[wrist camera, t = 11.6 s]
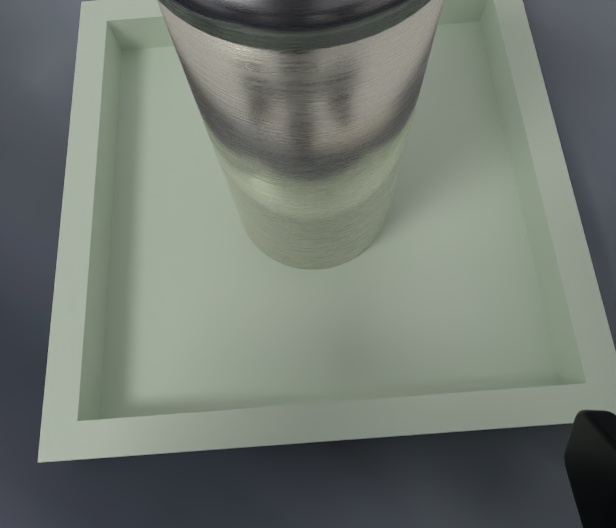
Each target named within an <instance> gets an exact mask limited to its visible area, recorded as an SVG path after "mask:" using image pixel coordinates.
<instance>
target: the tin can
mask: <svg viewBox="0 0 616 528" xmlns="http://www.w3.org/2000/svg"><path fill="white" fill-rule="evenodd" d="M157 2H158V5H159V7H160V10H161V13H162V15H163V18H164V20H165V23H166V26H167V28H168V31H169V33H170V36H171V39H172V41H173V44H174V47H175V49H176V52H177V54H178V57H179V60H180V62H181V65H182V67H183V70H184V73H185V75H186V78H187V81H188V83H189V86H190V88H191V91H192V94H193V96H194V99H195V101H196V104H197V107H198V109H199V112H200V115H201V117H202V120H203V122H204V125H205V128H206V130H207V133H208V135H209V138H210V141H211V143H212V146H213V149H214V151H215V154H216V156H217V159H218V162H219V164H220V167H221V169H222V172H223V175H224V177H225V180H226V183H227V185H228V188H229V190H230V193H231V196H232V198H233V201H234V203H235V206H236V209H237V211H238V214H239V216H240V219H241V222H242V224H243V227H244V229H245V231H246V233H247V235H248V237H249V238H250V239H251V241H252V242H253V243H254V244H255V245H256V246H257V247H258V248H259V249H260V250H261V251H262V252H263V253H264V254H266V255H267V256H268V257H270V258H272V259H273V260H275V261H277V262H279V263H282V264H284V265H286V266H290V267H294V268H299V269H306V270H319V269H327V268H331V267H336V266H339V265H341V264H344V263H347V262H349V261H351V260H352V259H354V258H356V257H357V256H359V255H360V254H362V253H363V252H364V251H365V250H366V249H367V248H369V247H370V246H371V245H372V243H373V242H374V241H375V240H376V238H377V237H378V235H379V234H380V232H381V230H382V228H383V226H384V224H385V221H386V218H387V214H388V210H389V206H390V203H391V199H392V195H393V191H394V188H395V184H396V180H397V176H398V172H399V169H400V165H401V161H402V157H403V154H404V150H405V146H406V142H407V139H408V135H409V131H410V127H411V123H412V120H413V116H414V112H415V108H416V105H417V101H418V97H419V93H420V90H421V86H422V82H423V78H424V74H425V71H426V67H427V63H428V59H429V56H430V52H431V48H432V44H433V41H434V37H435V33H436V29H437V25H438V22H439V18H440V14H441V10H442V7H443V3H444V0H157Z"/></svg>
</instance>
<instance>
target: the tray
mask: <svg viewBox="0 0 616 528" xmlns="http://www.w3.org/2000/svg"><path fill="white" fill-rule="evenodd" d="M581 410H605V411H609V412H612V413H613V414H615V415H616V351H615V347H614V344H613V340H612V336H611V332H610V328H609V325H608V321H607V317H606V313H605V310H604V306H603V302H602V298H601V295H600V291H599V287H598V283H597V279H596V276H595V272H594V268H593V264H592V261H591V257H590V253H589V249H588V246H587V242H586V238H585V234H584V231H583V227H582V223H581V219H580V215H579V212H578V208H577V204H576V200H575V197H574V193H573V189H572V185H571V182H570V178H569V174H568V170H567V166H566V163H565V159H564V155H563V151H562V148H561V144H560V140H559V136H558V133H557V129H556V125H555V121H554V117H553V114H552V110H551V106H550V102H549V99H548V95H547V91H546V87H545V84H544V80H543V76H542V72H541V69H540V65H539V61H538V57H537V53H536V50H535V46H534V42H533V38H532V35H531V31H530V27H529V23H528V20H527V16H526V12H525V8H524V4H523V1H522V0H444V3H443V7H442V10H441V14H440V18H439V22H438V25H437V29H436V33H435V37H434V41H433V44H432V48H431V52H430V56H429V59H428V63H427V67H426V71H425V74H424V78H423V82H422V86H421V90H420V93H419V97H418V101H417V105H416V108H415V112H414V116H413V120H412V123H411V127H410V131H409V135H408V139H407V142H406V146H405V150H404V154H403V157H402V161H401V165H400V169H399V172H398V176H397V180H396V184H395V188H394V191H393V195H392V199H391V203H390V206H389V210H388V214H387V218H386V221H385V224H384V226H383V228H382V230H381V232H380V234H379V235H378V237H377V238H376V240H375V241H374V242H373V243H372V245H371V246H370V247H369V248H367V249H366V250H365V251H364V252H363V253H362V254H360V255H359V256H357V257H356V258H354V259H352V260H351V261H349V262H347V263H344V264H341V265H339V266H336V267H331V268H327V269H319V270H306V269H299V268H294V267H290V266H286V265H284V264H282V263H279V262H277V261H275V260H273V259H272V258H270V257H268V256H267V255H266V254H264V253H263V252H262V251H261V250H260V249H259V248H258V247H257V246H256V245H255V244H254V243H253V242H252V241H251V239H250V238H249V237H248V235H247V233H246V231H245V229H244V227H243V224H242V222H241V219H240V216H239V214H238V211H237V209H236V206H235V203H234V201H233V198H232V196H231V193H230V190H229V188H228V185H227V183H226V180H225V177H224V175H223V172H222V169H221V167H220V164H219V162H218V159H217V156H216V154H215V151H214V149H213V146H212V143H211V141H210V138H209V135H208V133H207V130H206V128H205V125H204V122H203V120H202V117H201V115H200V112H199V109H198V107H197V104H196V101H195V99H194V96H193V94H192V91H191V88H190V86H189V83H188V81H187V78H186V75H185V73H184V70H183V67H182V65H181V62H180V60H179V57H178V54H177V52H176V49H175V47H174V44H173V41H172V39H171V36H170V33H169V31H168V28H167V26H166V23H165V20H164V18H163V15H162V13H161V10H160V7H159V5H158V2H157V0H97V1H85V2H82V3H81V13H80V24H79V34H78V45H77V55H76V66H75V76H74V87H73V97H72V108H71V118H70V129H69V139H68V149H67V160H66V170H65V181H64V191H63V202H62V212H61V223H60V233H59V244H58V254H57V265H56V275H55V286H54V296H53V307H52V317H51V328H50V338H49V349H48V359H47V370H46V380H45V391H44V401H43V411H42V422H41V432H40V443H39V453H38V462H54V461H69V460H83V459H97V458H110V457H124V456H137V455H151V454H164V453H178V452H191V451H205V450H219V449H232V448H246V447H259V446H273V445H286V444H300V443H313V442H327V441H340V440H354V439H367V438H381V437H394V436H408V435H421V434H435V433H448V432H462V431H475V430H489V429H502V428H516V427H530V426H543V425H557V424H570V423H573V422H574V419H575V416H576V414H577V413H578V412H579V411H581Z"/></svg>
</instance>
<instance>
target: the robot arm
mask: <svg viewBox="0 0 616 528" xmlns="http://www.w3.org/2000/svg"><path fill="white" fill-rule="evenodd" d="M564 459H565V467H566V471H567V474H568V478H569V481H570V485H571V488H572V491H573V495H574V498H575V502H576V505H577V509H578V512H579V516H580V519H581V523H582V526H583V528H616V415H615V414H613V413H612V412H609V411H605V410H581V411H579V412H578V413H577V414H576V416H575V419H574V422H573V426H572V429H571V432H570V435H569V439H568V442H567V445H566V449H565V455H564Z"/></svg>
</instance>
